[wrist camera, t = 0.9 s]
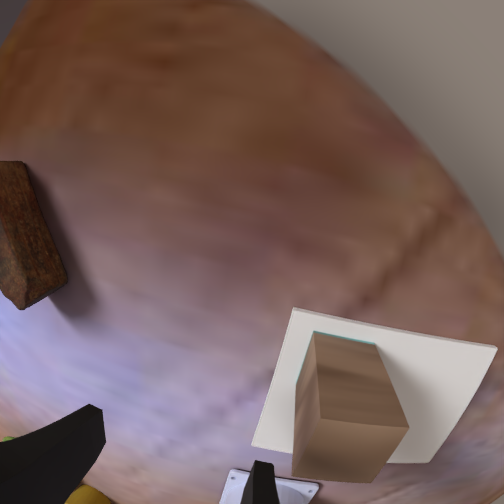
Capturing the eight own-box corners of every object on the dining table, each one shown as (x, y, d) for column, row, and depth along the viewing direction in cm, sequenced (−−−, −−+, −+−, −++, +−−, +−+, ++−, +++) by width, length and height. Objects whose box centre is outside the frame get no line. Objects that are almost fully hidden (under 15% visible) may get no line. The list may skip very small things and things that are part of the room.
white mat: (427, 459, 20) (428, 462, 20) (252, 441, 22) (251, 445, 21) (494, 345, 17) (497, 348, 17) (293, 306, 19) (293, 309, 18)
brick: (2, 186, 20) (-38, 190, 16) (25, 159, 20) (-17, 159, 15) (47, 297, 22) (9, 318, 17) (74, 279, 21) (33, 299, 16)
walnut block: (352, 392, 19) (370, 483, 11) (295, 382, 19) (291, 476, 12) (374, 342, 18) (409, 427, 10) (313, 330, 18) (320, 418, 11)
